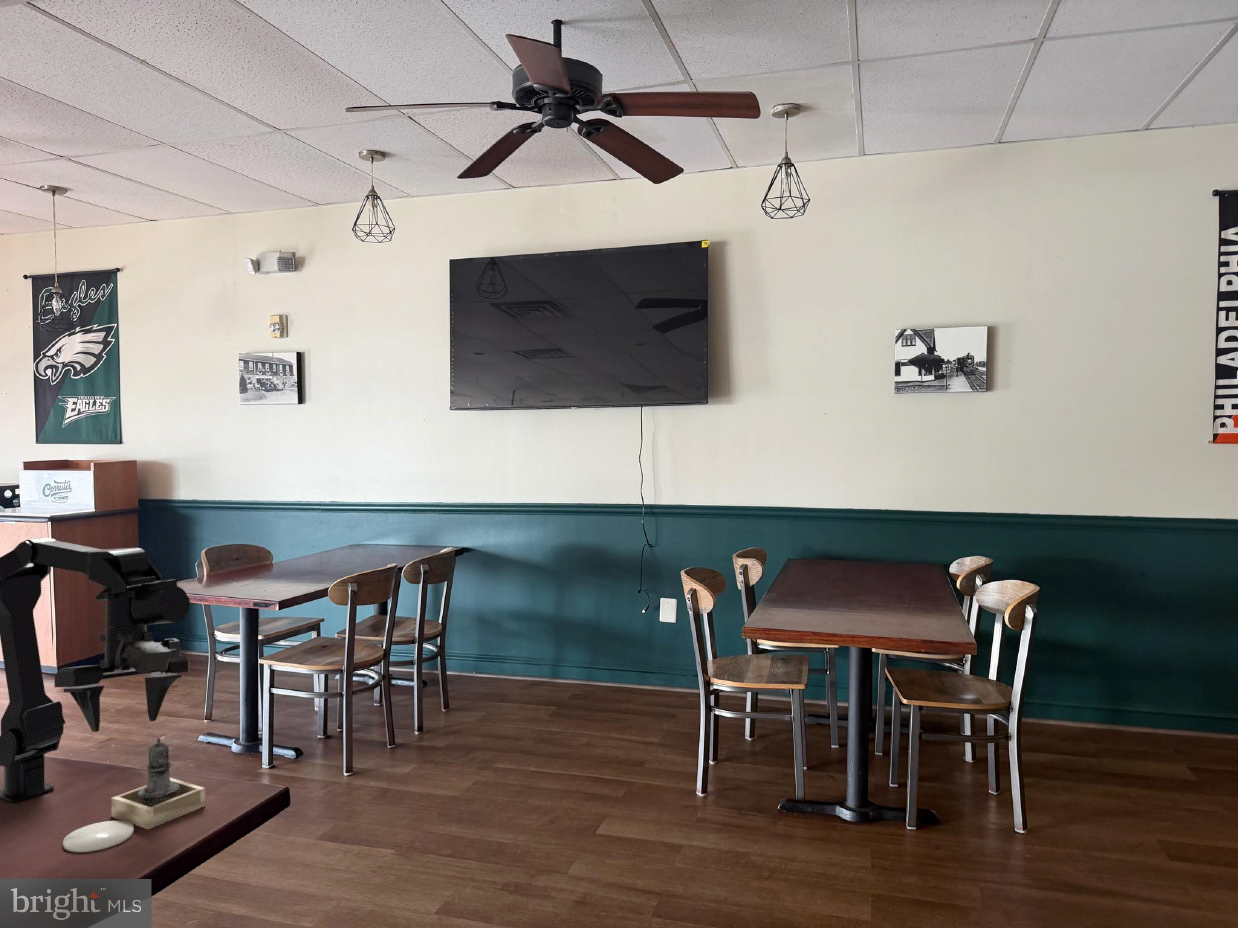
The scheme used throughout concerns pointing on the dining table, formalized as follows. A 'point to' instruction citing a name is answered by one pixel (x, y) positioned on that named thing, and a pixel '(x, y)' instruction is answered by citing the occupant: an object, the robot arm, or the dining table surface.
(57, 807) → the dining table surface
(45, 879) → the dining table surface
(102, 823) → the coaster
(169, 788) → the grey tall domed piece
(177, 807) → the birch holder
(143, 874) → the dining table surface
